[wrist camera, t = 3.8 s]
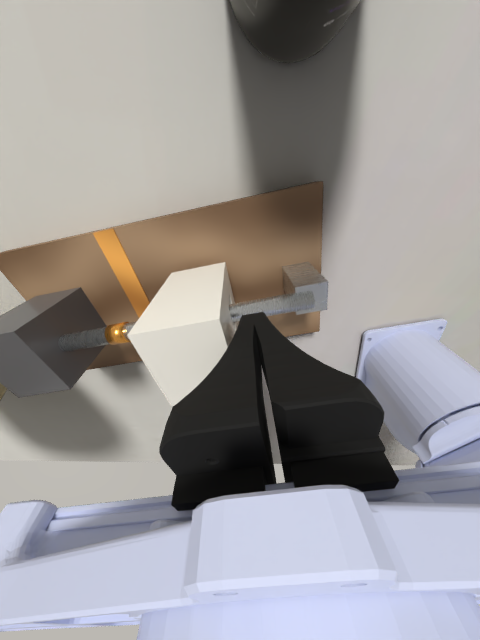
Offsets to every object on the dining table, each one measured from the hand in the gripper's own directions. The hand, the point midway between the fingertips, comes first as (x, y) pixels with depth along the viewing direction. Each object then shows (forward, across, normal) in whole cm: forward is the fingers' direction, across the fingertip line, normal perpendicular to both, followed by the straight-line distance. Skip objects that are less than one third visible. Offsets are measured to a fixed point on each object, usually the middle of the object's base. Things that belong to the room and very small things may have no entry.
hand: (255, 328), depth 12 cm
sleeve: (+5, +3, 0) cm, 6 cm away
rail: (+6, +5, 0) cm, 8 cm away
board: (+8, +6, 0) cm, 10 cm away
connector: (+6, +15, 0) cm, 16 cm away
